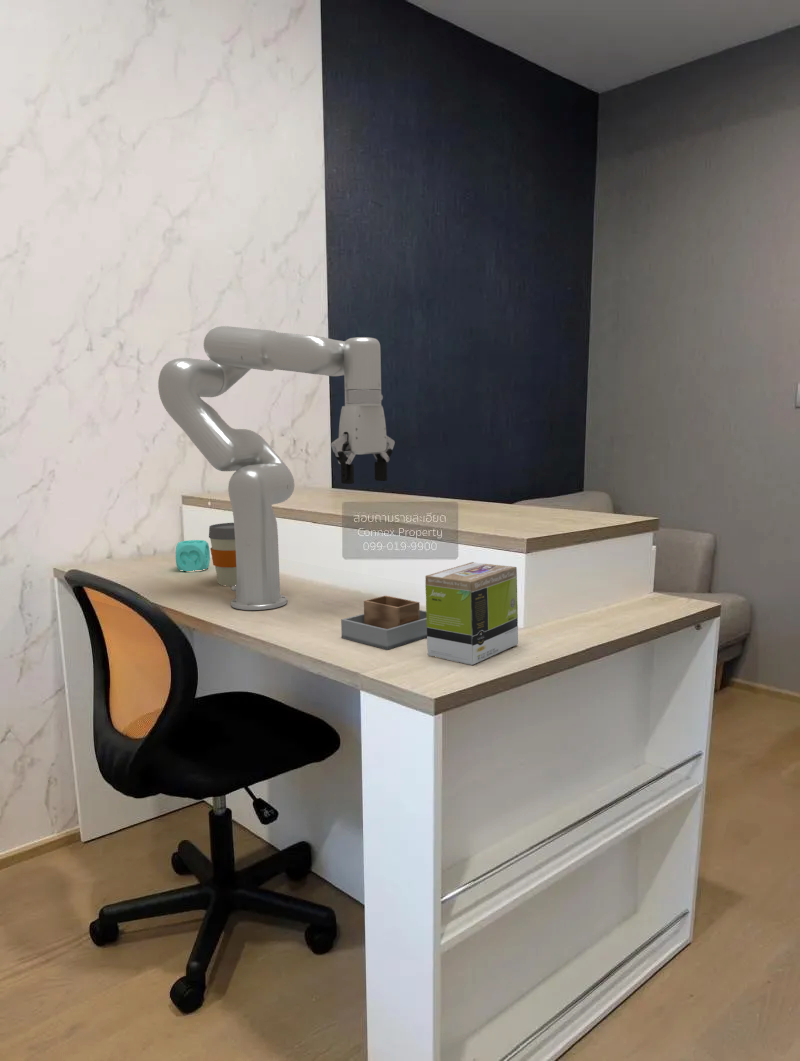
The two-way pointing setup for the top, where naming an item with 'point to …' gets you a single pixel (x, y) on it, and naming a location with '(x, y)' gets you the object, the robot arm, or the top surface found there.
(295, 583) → the top surface
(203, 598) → the top surface
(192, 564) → the decorative dice
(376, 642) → the grey tray
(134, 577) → the top surface
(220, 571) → the reusable coffee cup
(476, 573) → the tea box
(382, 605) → the small crate
